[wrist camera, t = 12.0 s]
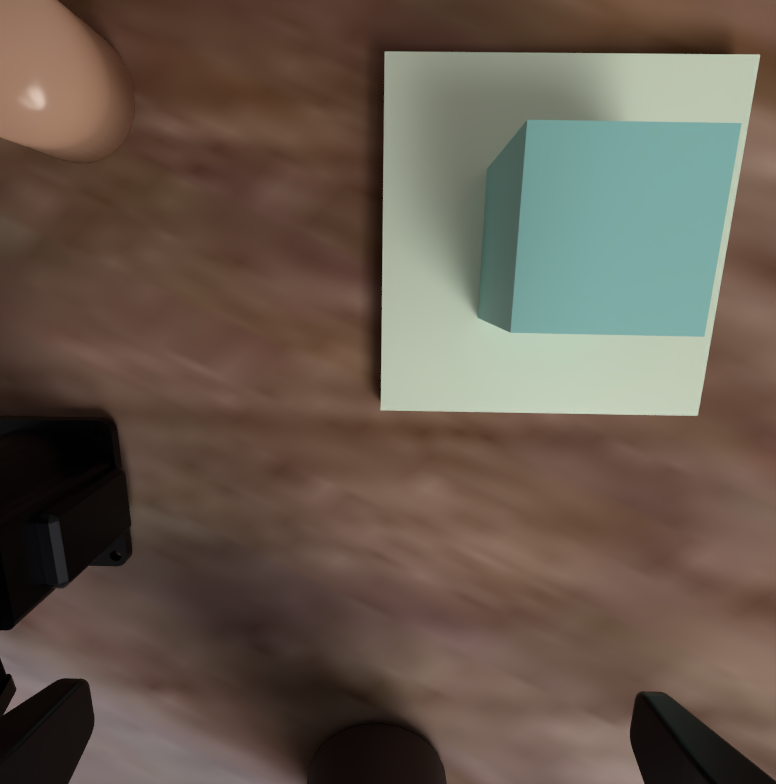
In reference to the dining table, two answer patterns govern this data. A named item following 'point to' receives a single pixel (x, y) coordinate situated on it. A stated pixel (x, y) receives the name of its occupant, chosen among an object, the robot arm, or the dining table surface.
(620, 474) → the dining table surface
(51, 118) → the terracotta cylinder
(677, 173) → the teal block
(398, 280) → the sage pad
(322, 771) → the dark water bottle
